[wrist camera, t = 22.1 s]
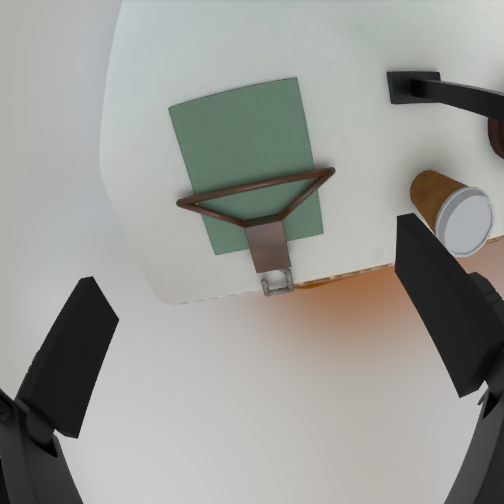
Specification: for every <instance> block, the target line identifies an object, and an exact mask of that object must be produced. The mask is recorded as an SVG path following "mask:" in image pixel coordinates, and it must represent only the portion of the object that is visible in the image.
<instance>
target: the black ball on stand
mask: <svg viewBox="0 0 504 504" xmlns="http://www.w3.org/2000/svg"><path fill="white" fill-rule="evenodd" d="M488 135H489V140H490V143H491V146H492V148H493V150H494V151H495V153H496V154H497V155H498V156H500V157H501V158H503V159H504V123H503V122H500V121H498V120H495V119H492V118H489V119H488Z"/></svg>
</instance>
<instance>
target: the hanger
mask: <svg viewBox="0 0 504 504" xmlns="http://www.w3.org/2000/svg"><path fill="white" fill-rule="evenodd" d="M333 174H335V168H333V167H328V168H322V169H317V170H311V171H306V172H300V173H295V174H290V175H285V176H280V177H275V178H270V179H265V180H260V181H255V182H251V183H246V184H242V185H237V186H233V187H228V188H224V189H220V190H215V191H211V192H207V193H203V194H199V195H195V196H191V197H187V198H183V199H179V200H177V202H176V205H177V206H178V207H181V208H184V209H187V210H191V211H194V212H197V213H200V214H203V215H206V216H209V217H212V218H215V219H219V220H222V221H225V222H228V223H231V224H234V225H237V226H240V227H243V228H244V229H245V233H246V236H247V240H248V244H249V247H250V251H251V255H252V258H253V262H254V266H255V269H256V273H261V272H266V271H272V270H279V271H281V272H283V273H285V275H286V280H287V285H288V287H284V288H278V289H273V290H269V287H268V283H267V280H266V279H262V280H261V284H262V287H263V291H264V294H265V296H272V295H277V294H283V293H289V292H293V291H294V285H293V280H292V274H291V270H290V269H289V268H287V267H291V264H290V258H289V253H288V248H287V243H286V238H285V233H284V228H283V223H282V220H283V219H285V218H286V217H287V216H288V215H289V214H290V213H291V212H292V211H293V210H295V209H296V208H297V207H298V206H299V205H300V204H301V203H302V202H303V201H305V200H306V199H307V198H308V197H309V196H310V195H311V194H312V193H313V192H315V191H316V190H317V189H318V188H319V187H320V186H321V185H322V184H323V183H325V182H326V181H327V180H328V179H329V178H330V177H331V176H332V175H333ZM317 177H318V178H317ZM311 178H317V179H316V180H315V181H314V182H313V183H312V184H311V185H310V186H308V187H307V188H306V189H305V190H304V191H303V192H302V193H301V194H300V195H299V196H297V197H296V198H295V199H294V200H293V201H292V202H291V203H290V204H289V205H288V206H287V207H285V208H284V209H283V210H282V211H281V212H280V213H277V214H273V215H268V216H263V217H258V218H253V219H248V220H243V219H240V218H237V217H234V216H231V215H228V214H224V213H221V212H218V211H215V210H212V209H209V208H206V207H203V206H200V205H197V204H194V203H198V202H202V201H207V200H211V199H215V198H219V197H224V196H228V195H233V194H237V193H242V192H246V191H251V190H256V189H260V188H265V187H270V186H275V185H280V184H285V183H290V182H295V181H300V180H306V179H311Z"/></svg>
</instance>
